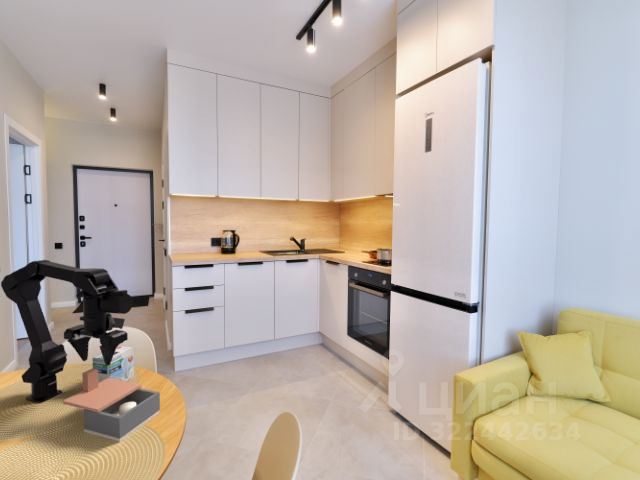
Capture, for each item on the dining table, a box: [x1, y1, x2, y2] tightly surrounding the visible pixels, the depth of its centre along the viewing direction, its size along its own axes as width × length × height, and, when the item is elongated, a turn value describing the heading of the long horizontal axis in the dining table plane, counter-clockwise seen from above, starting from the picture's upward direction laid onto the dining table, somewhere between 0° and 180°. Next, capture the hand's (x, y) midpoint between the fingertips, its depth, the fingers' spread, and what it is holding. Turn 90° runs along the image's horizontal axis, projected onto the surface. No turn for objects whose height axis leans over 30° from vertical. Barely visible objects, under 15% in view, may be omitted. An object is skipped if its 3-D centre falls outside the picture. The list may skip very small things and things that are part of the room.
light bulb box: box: [92, 345, 135, 383], centre depth 109 cm, size 11×7×11 cm, turn 168°
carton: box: [83, 387, 161, 443], centre depth 88 cm, size 12×13×6 cm
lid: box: [62, 368, 142, 413], centre depth 90 cm, size 12×13×6 cm
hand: (96, 362), depth 97 cm, fingers open, 9 cm apart
